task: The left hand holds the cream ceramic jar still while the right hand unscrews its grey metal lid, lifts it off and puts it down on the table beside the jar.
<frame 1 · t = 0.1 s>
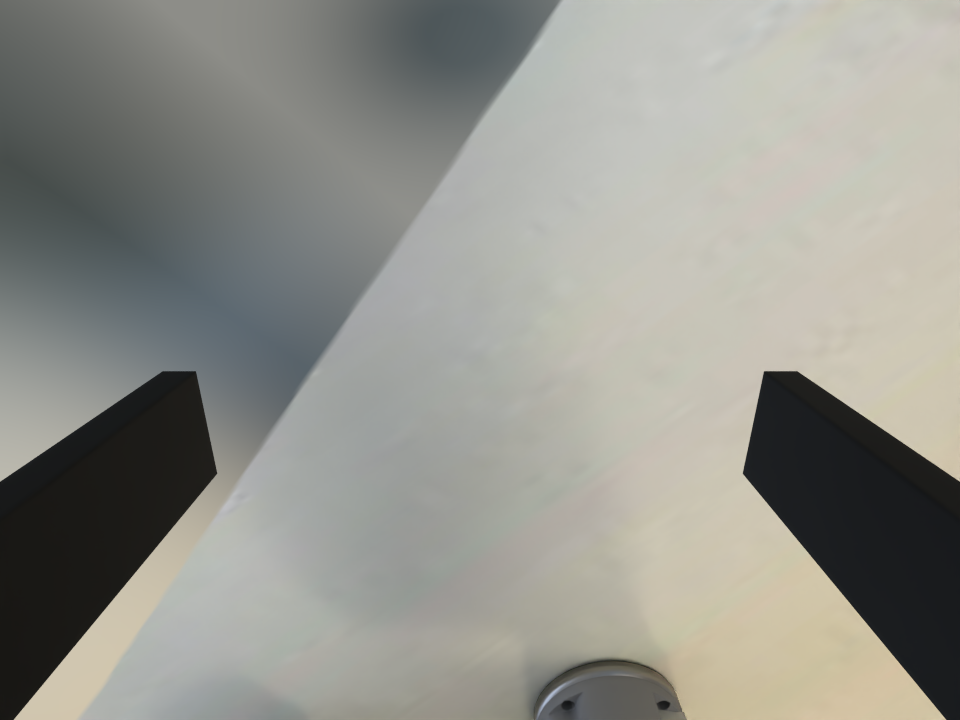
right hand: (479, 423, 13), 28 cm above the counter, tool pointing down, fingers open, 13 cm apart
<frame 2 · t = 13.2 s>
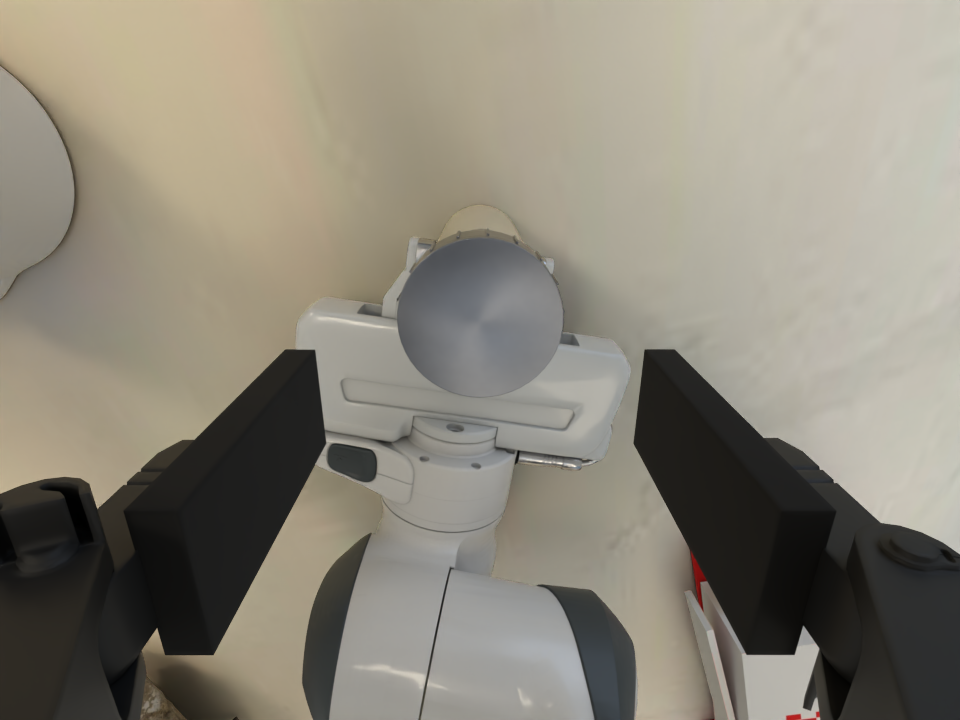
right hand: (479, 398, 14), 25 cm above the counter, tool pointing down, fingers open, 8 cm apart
left hand: (481, 248, 31), fingers closed on jar, 5 cm apart
fossil: (201, 714, 54), on the counter
jar: (480, 245, 37), on the counter, touching left hand
toy: (740, 618, 50), on the counter
lid: (480, 319, 20), point 18 cm above the counter, screwed on, not yet turned
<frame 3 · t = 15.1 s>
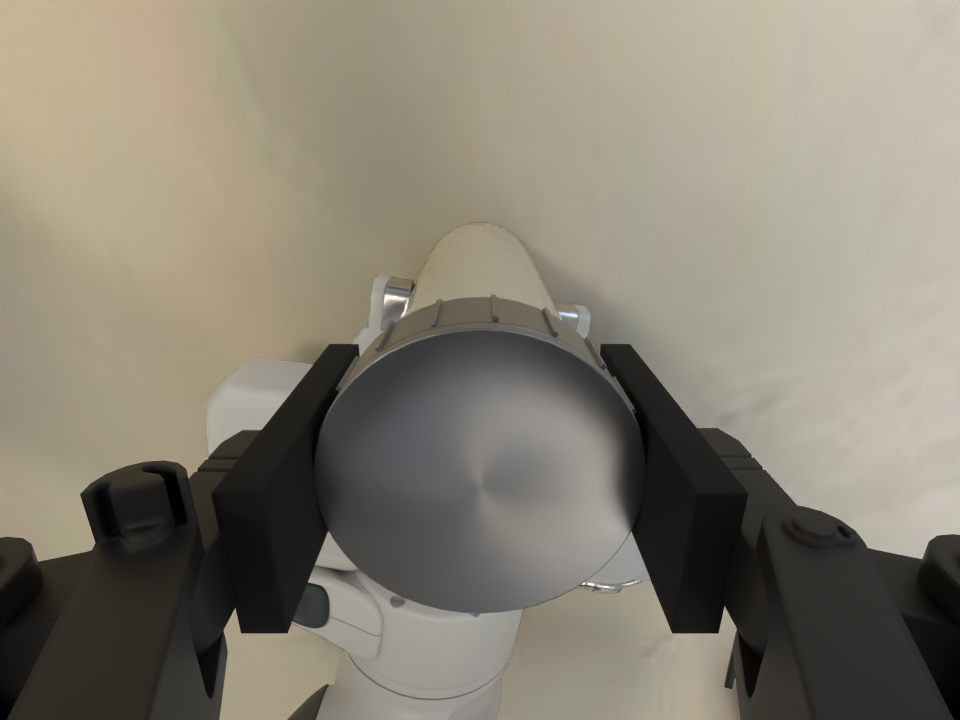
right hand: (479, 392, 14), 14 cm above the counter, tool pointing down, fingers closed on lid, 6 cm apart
jar: (479, 278, 27), on the counter, touching left hand
lid: (480, 477, 10), point 18 cm above the counter, screwed on, not yet turned, touching right hand
when the right hand's fingers open (14 cm above the counter, at t = 16.8 s): lid stays where it is, point 18 cm above the counter.
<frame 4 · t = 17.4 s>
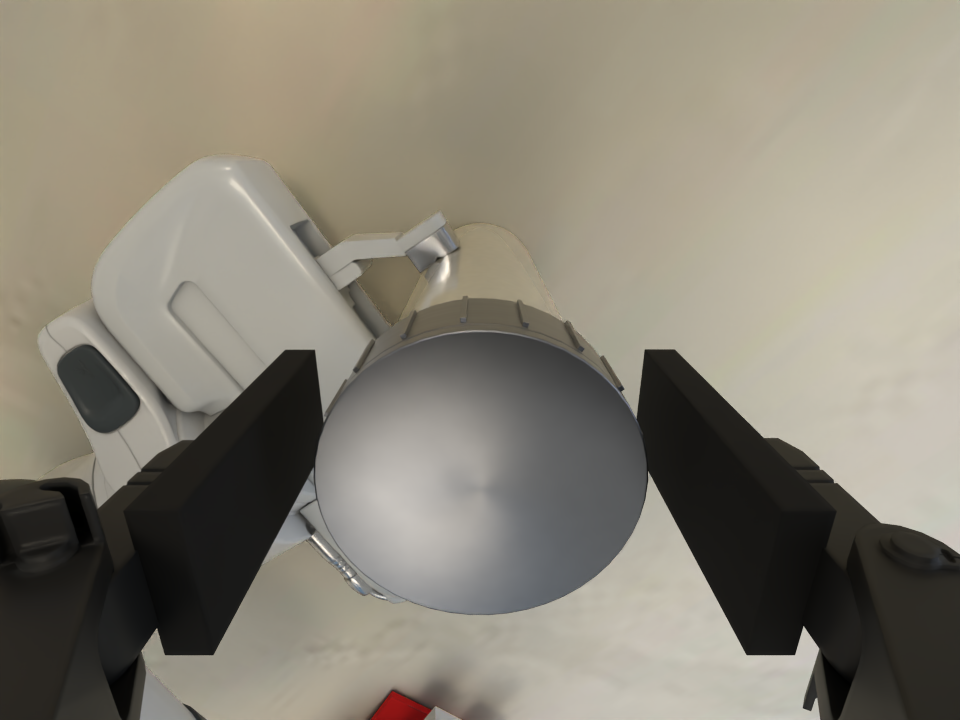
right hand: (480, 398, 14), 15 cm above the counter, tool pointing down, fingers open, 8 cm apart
jar: (480, 277, 28), on the counter, touching left hand
lid: (480, 478, 10), point 18 cm above the counter, turned 119° so far, risen 0.3 cm, still on its thread
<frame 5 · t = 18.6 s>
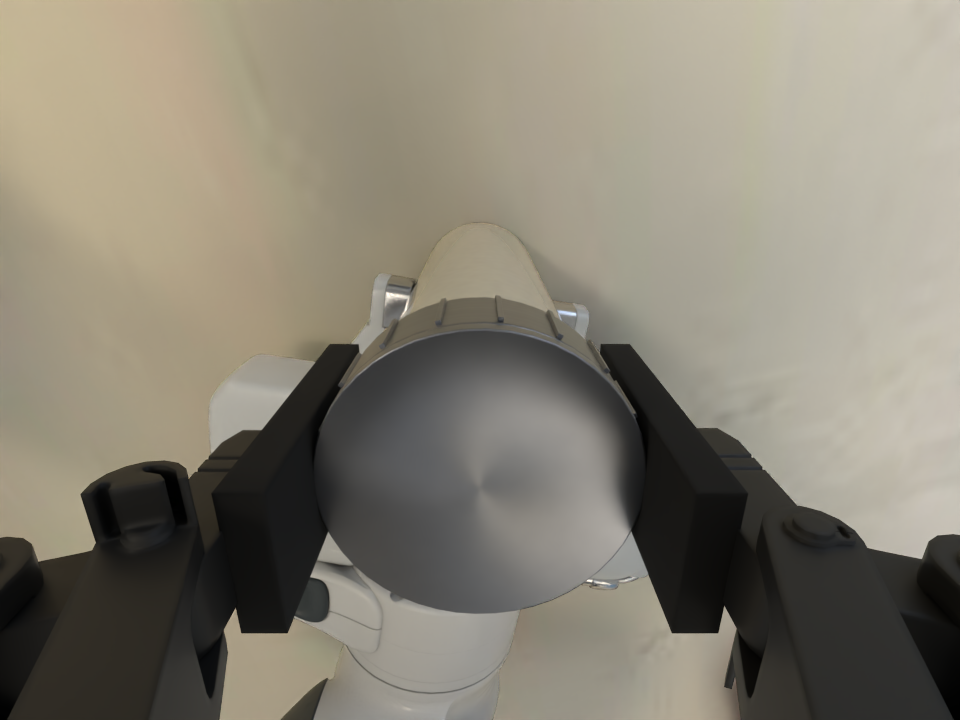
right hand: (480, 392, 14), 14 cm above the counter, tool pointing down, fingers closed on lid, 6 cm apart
jar: (479, 277, 28), on the counter, touching left hand
lid: (479, 477, 10), point 18 cm above the counter, turned 119° so far, risen 0.3 cm, still on its thread, touching right hand
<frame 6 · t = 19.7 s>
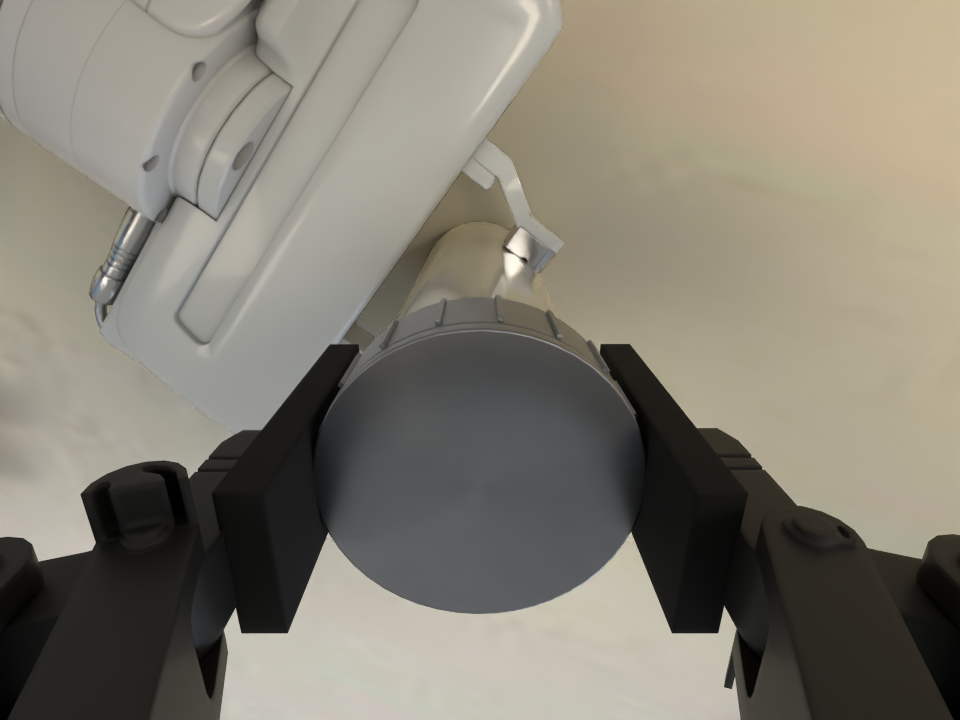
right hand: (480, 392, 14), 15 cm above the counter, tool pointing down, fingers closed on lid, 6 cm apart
left hand: (497, 322, 22), fingers closed on jar, 5 cm apart
jar: (479, 275, 28), on the counter, touching left hand
lid: (479, 477, 10), point 19 cm above the counter, off its thread, touching right hand
when the right hand's fingers open (0 cm above the counter, at t = 26.3 s): lid drops 2 cm, point 2 cm above the counter.
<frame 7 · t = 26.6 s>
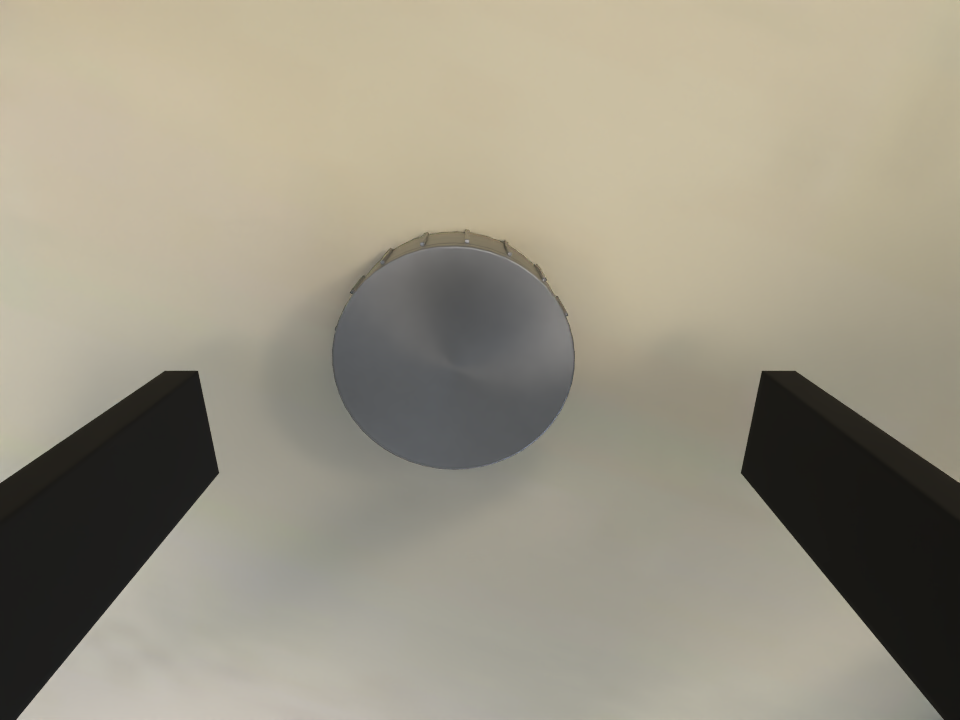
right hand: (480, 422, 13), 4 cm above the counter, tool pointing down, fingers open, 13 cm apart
lid: (454, 362, 14), point 2 cm above the counter, off its thread
when the left hand's fingers open (7 cm above the counter, at t = 27.0 s): jar stays where it is, on the counter.
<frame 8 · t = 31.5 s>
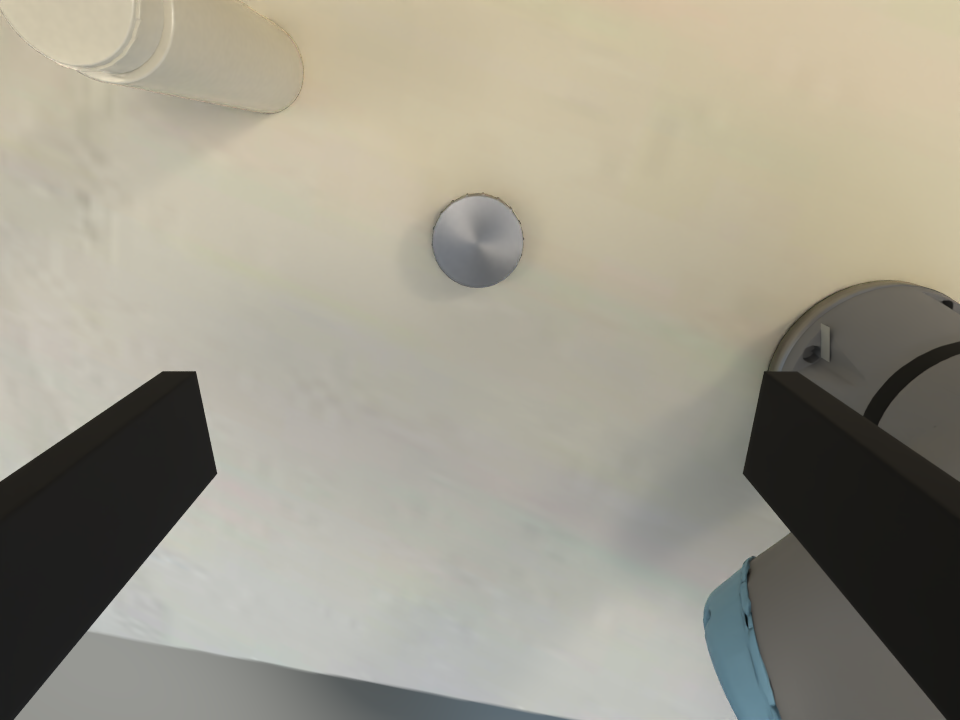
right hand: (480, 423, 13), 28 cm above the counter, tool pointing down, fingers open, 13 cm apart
jar: (261, 67, 35), on the counter
lid: (477, 242, 37), point 2 cm above the counter, off its thread
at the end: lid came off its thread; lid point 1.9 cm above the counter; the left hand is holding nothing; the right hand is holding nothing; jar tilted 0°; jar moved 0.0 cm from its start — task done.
